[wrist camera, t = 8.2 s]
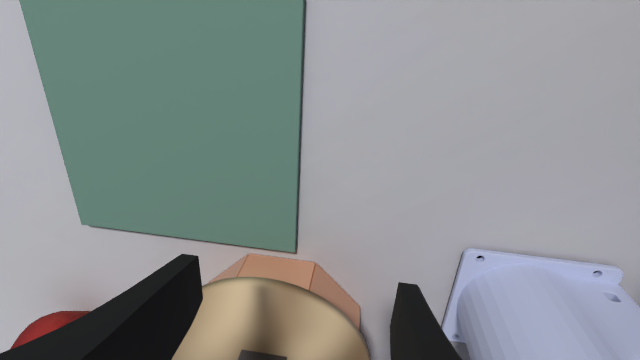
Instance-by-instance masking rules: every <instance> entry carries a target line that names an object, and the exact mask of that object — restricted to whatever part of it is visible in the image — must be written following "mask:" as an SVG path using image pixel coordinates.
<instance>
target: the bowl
mask: <svg viewBox="0 0 640 360" xmlns="http://www.w3.org/2000/svg"><path fill="white" fill-rule="evenodd" d="M233 277H262V278H270V279H275V280H280V281H284V282H287V283H291V284H294V285H297V286H300V287H302V288H304V289H307V290H309V291H311V292H313V293H315V294H317V295H319V296H321V297H323V298H324V299H326V300H327V301H329V302H330V303H332V304H333V305H335V306H336V307H337V308H338V309H339V310H341V311H342V312H343V313H344V314H345V315H346V316H347V317H348V318H349V319H350V320H351V321H352V322H353V323H354V324H355V326H356V327H357V329H358V330H359V325H360V306H359V305H358V304H357V303H356V302H355V301H354V300H353V299H352V298H351V297H350V296H349V295H348V294H347V293H346V292H345V291H344V290H343V289H342V288H341V287H340V286H339V285H338V284H337V283H336V282H335V281H334V280H333V279H332V278H331V277H330V276H329V275H328V274H327V273H326V272H325V271H324V270H323V269H322V268H321V267H320V266H319V265H318V264H315V262H308V261H301V260H293V259H286V258H279V257H271V256H264V255H256V254H249V255H248V254H247V255H246V256H245V257H243V258H242V259H240V260H239V261H238V262H236V263H235V264H234V265H232V266H231V267H229V268H228V269H227V270H225V271H224V272H223V273H221V274H220V275H218V276H217V277H216V278H214V279H213V280H212V281H210V282H209V283H211V282H214V281H218V280H221V279H226V278H233ZM207 284H208V283H207Z"/></svg>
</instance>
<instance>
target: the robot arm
mask: <svg viewBox="0 0 640 360" xmlns="http://www.w3.org/2000/svg"><path fill="white" fill-rule="evenodd" d="M478 256H482V257H481V258H478V259H477V258H476V257H478ZM595 271H597V272H596V273H594V272H595ZM623 275H624V274H623V271H622V270H621V269H619V268H618V267H616V266H610V265H602V264H594V263H586V262H578V261H570V260H562V259H554V258H546V257H538V256H530V255H522V254H514V253H506V252H498V251H490V250H482V249H474V248H469V249H466V250H465V251H464V252H463V254H462V258H461V261H460V265H459V268H458V272H457V275H456V279H455V282H454V286H453V289H452V293H451V296H450V300H449V303H448V307H447V310H446V314H445V317H444V320H443V324H442V327H440V325H439V323H438V322H437V320H436V318H435V317H434V315H433V313H432V311H431V309H430V308H429V306H428V304H427V302H426V300H425V298H424V296H423V294H422V292H421V290H420V288H419V287H418V286H417V285H415V284H407V283H400V282H399V284H398V289H397V294H396V299H395V304H394V309H393V314H392V319H391V324H390V348H391V360H462V359H461V358H460V356H459V355H458V353H457V352H456V350H455V349H454V347H453V346H452V344H451V343H450V341H455V342H462V343H466V346H467V349H468V353H469V356H470V360H640V307H639V306H638V305H637V304H636V303H635V302H634V300H633V299H632V298H631V297H630V296H629V295H628V294H627V293H626V292H625V291H624V290H623V289H622V288H621V286H620V285H619V283H620V281H621V280H622V278H623ZM202 301H203V292H202V284H201V276H200V267H199V259H198V256H194V255H187V254H181V255H180V256H178V257H176V258H175V259H173V260H172V261H170V262H169V263H167V264H166V265H164V266H163V267H161V268H160V269H158V270H157V271H155V272H154V273H153V274H151V275H150V276H148V277H146V278H145V279H143V280H142V281H140V282H139V283H137V284H136V285H134V286H133V287H131V288H130V289H128V290H126V291H125V292H123V293H121V294H120V295H118V296H117V297H115V298H113V299H112V300H110V301H108V302H107V303H105V304H103V305H102V306H100V307H98V308H96V309H95V310H93V311H91V312H89V313H87V314H86V315H84V316H82V317H80V318H78V319H76V320H74V321H72V322H70V323H68V324H66V325H64V326H62V327H60V328H58V329H56V330H54V331H51V332H49V333H47V334H45V335H43V336H40V337H38V338H36V339H34V340H32V341H29V342H27V343H25V344H23V345H20V346H18V347H15V348H13V349H10V350H8V351H5V352H3V353H1V354H0V360H171V359H172V358H173V356H174V354H175V353H176V351H177V349H178V348H179V346H180V344H181V343H182V341H183V339H184V337H185V336H186V334H187V332H188V331H189V329H190V327H191V325H192V323H193V321H194V319H195V317H196V315H197V312H198V310H199V308H200V305H201V303H202ZM454 334H457V335H454Z"/></svg>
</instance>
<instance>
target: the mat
mask: <svg viewBox="0 0 640 360" xmlns="http://www.w3.org/2000/svg"><path fill="white" fill-rule="evenodd" d="M19 1H20V4H21V8H22V11H23V15H24V19H25V22H26V26H27V29H28V33H29V37H30V40H31V44H32V47H33V51H34V55H35V58H36V62H37V65H38V69H39V73H40V76H41V80H42V83H43V87H44V91H45V94H46V98H47V101H48V105H49V109H50V112H51V116H52V119H53V123H54V127H55V130H56V134H57V137H58V141H59V145H60V148H61V152H62V155H63V159H64V163H65V166H66V170H67V173H68V177H69V181H70V184H71V188H72V191H73V195H74V199H75V202H76V206H77V209H78V213H79V217H80V220H81V224H82V225H90V226H97V227H105V228H112V229H120V230H127V231H135V232H142V233H150V234H158V235H165V236H173V237H180V238H188V239H195V240H203V241H210V242H218V243H225V244H233V245H240V246H248V247H256V248H263V249H271V250H278V251H286V252H293V253H295V251H296V241H297V212H298V184H299V155H300V126H301V97H302V69H303V40H304V11H305V0H19Z"/></svg>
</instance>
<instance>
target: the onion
mask: <svg viewBox="0 0 640 360" xmlns="http://www.w3.org/2000/svg"><path fill="white" fill-rule="evenodd" d="M89 312H90V311H60V312H56V313H52V314H49V315H46V316H43V317H41V318H39V319H38V320H36V321H34V322H33V323H31V324H30V325H29V326H28V327H27V328H26V329H25V330H24V331H23V332H22V333H21V334H20V335H19V337H18V338H17V340H16V341H15V342H14V344H13V346H12V347H11V349H13V348H15V347H18V346H20V345H23V344H25V343H27V342H29V341H32V340H34V339H36V338H38V337H40V336H43V335H45V334H47V333H49V332H51V331H54V330H56V329H58V328H60V327H62V326H64V325H66V324H68V323H70V322H72V321H74V320H76V319H78V318H80V317H82V316H84V315H86V314H87V313H89Z"/></svg>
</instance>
